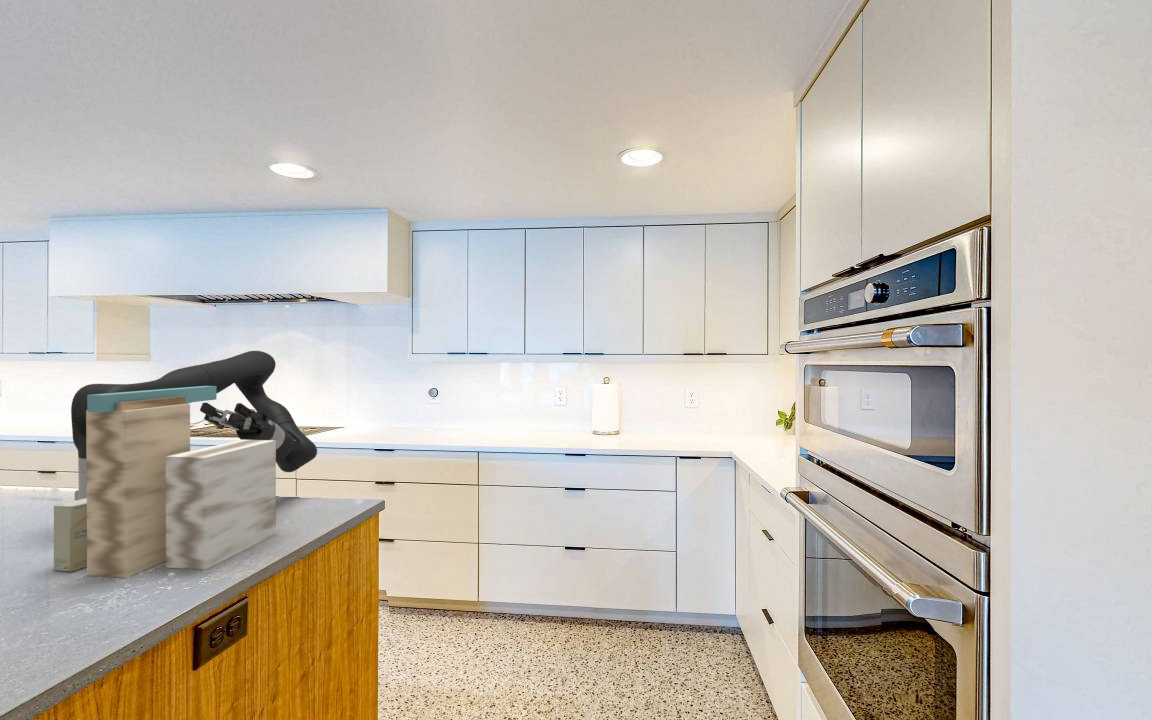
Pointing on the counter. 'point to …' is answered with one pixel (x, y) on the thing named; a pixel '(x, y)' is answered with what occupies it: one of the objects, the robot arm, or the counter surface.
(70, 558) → the skincare box
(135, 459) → the stepped wooden blocks
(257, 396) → the robot arm
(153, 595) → the counter surface
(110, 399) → the rod
